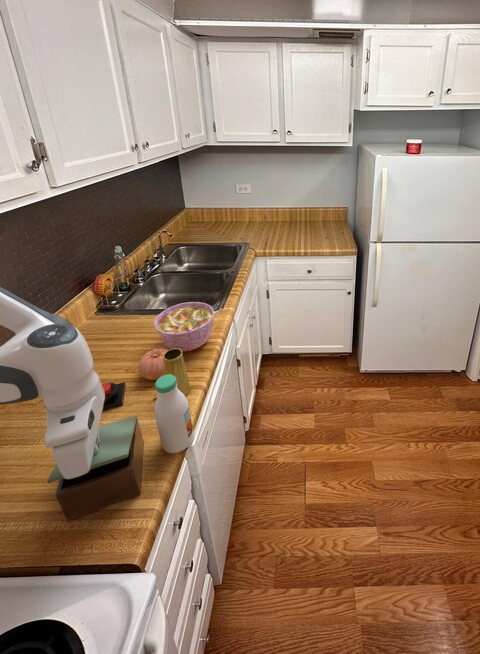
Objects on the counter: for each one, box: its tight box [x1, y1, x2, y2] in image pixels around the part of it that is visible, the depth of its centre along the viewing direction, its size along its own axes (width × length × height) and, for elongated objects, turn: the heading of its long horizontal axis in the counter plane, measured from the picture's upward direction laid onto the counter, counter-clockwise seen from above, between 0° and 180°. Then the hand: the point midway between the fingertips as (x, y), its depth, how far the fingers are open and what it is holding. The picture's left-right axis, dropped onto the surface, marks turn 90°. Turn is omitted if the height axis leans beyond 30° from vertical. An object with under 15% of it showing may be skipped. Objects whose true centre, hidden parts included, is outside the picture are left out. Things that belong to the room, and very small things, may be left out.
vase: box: [163, 348, 192, 397], centre depth 98 cm, size 6×6×14 cm
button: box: [101, 382, 112, 396], centre depth 96 cm, size 4×4×2 cm
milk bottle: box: [154, 374, 195, 454], centre depth 82 cm, size 8×8×20 cm
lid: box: [46, 415, 138, 484], centre depth 72 cm, size 15×14×1 cm
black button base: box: [102, 381, 127, 412], centre depth 97 cm, size 9×8×4 cm
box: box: [55, 418, 145, 523], centre depth 75 cm, size 14×14×9 cm
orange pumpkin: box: [137, 347, 169, 381], centre depth 106 cm, size 11×11×8 cm
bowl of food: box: [153, 301, 215, 352], centre depth 119 cm, size 20×20×12 cm
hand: (94, 449), depth 70 cm, fingers closed
